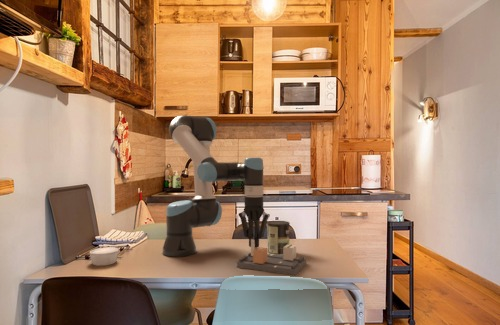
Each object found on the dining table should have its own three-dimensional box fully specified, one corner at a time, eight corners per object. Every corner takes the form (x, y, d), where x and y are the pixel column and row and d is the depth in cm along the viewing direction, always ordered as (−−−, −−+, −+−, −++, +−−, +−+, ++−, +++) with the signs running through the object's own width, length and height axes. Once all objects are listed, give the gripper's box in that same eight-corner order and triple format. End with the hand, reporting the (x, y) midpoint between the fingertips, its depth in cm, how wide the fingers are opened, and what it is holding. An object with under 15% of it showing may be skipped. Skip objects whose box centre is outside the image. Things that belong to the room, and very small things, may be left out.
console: (236, 267, 136) (236, 259, 136) (253, 256, 151) (253, 250, 151) (294, 275, 126) (294, 267, 126) (306, 263, 141) (306, 256, 141)
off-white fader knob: (283, 259, 139) (283, 246, 139) (286, 256, 143) (287, 244, 143) (292, 260, 137) (292, 247, 137) (296, 257, 142) (296, 245, 142)
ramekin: (90, 260, 145) (90, 248, 145) (118, 258, 149) (118, 245, 149) (88, 268, 135) (88, 254, 135) (118, 265, 139) (118, 252, 139)
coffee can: (290, 250, 162) (290, 220, 162) (288, 256, 151) (288, 224, 151) (268, 249, 164) (268, 220, 164) (265, 255, 154) (265, 223, 153)
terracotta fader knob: (253, 262, 134) (253, 249, 134) (258, 259, 139) (258, 246, 139) (262, 264, 133) (262, 250, 133) (267, 260, 137) (267, 247, 137)
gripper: (235, 196, 136) (235, 255, 136) (265, 197, 131) (265, 259, 131) (243, 194, 143) (243, 251, 143) (272, 195, 138) (272, 254, 137)
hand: (254, 255), depth 137 cm, fingers closed
